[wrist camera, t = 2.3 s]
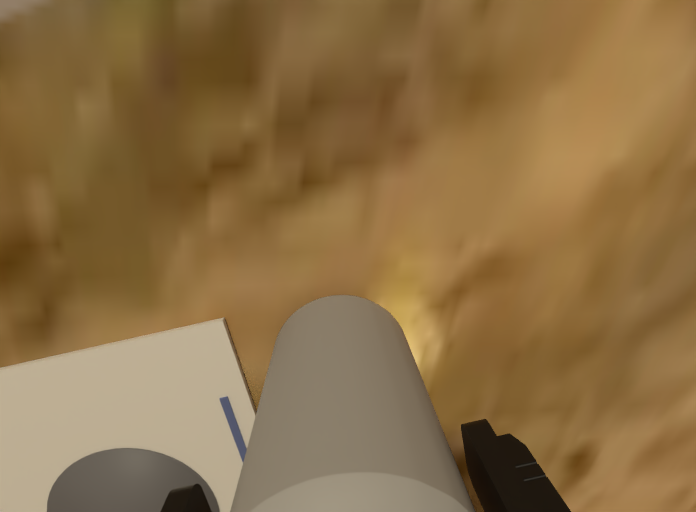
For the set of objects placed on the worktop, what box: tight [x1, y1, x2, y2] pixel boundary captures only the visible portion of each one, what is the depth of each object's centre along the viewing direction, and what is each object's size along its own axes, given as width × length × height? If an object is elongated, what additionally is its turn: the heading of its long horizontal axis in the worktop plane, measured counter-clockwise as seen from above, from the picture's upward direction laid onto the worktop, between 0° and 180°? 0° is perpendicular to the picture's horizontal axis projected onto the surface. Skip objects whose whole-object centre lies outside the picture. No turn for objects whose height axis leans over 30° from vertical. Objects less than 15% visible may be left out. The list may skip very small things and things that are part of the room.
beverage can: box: [230, 295, 475, 512], centre depth 13 cm, size 6×6×12 cm
